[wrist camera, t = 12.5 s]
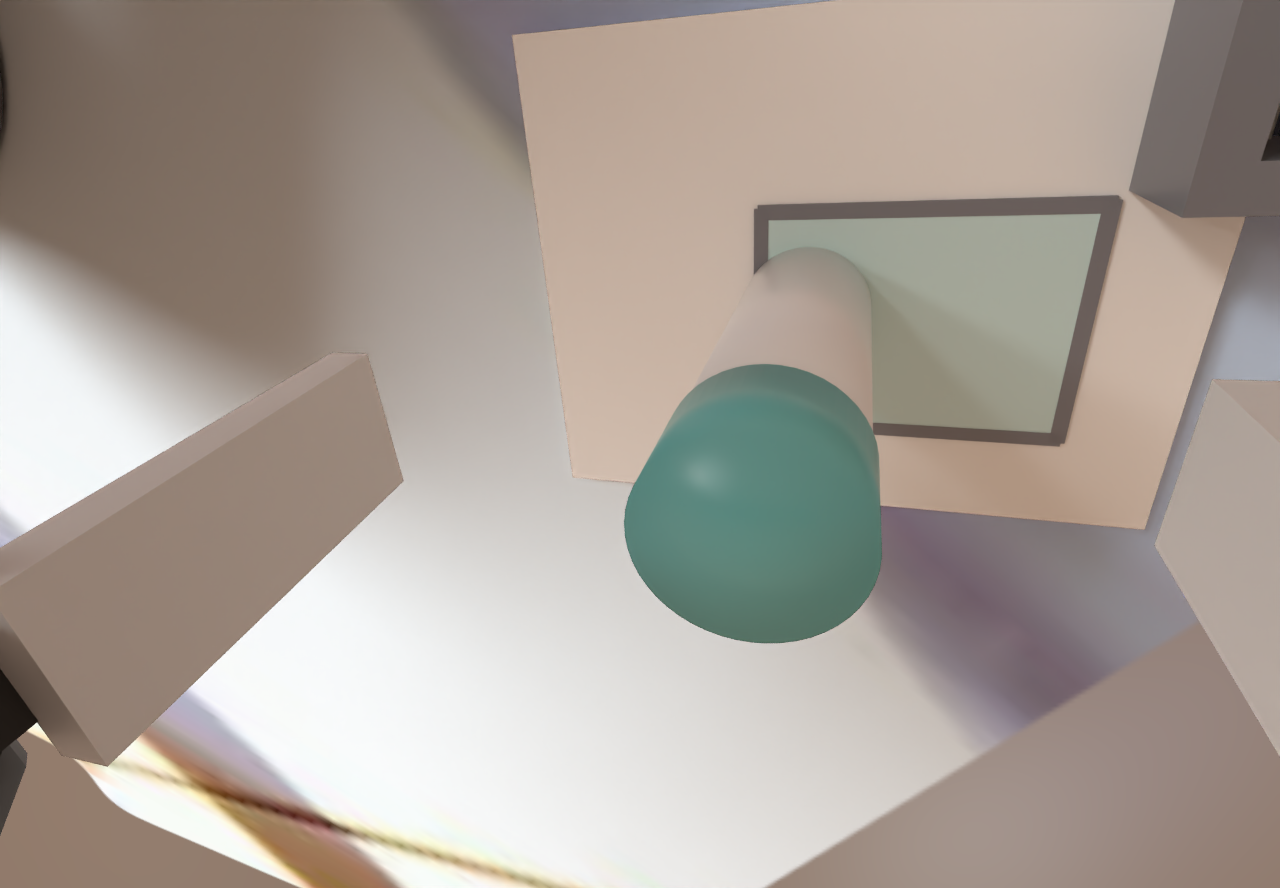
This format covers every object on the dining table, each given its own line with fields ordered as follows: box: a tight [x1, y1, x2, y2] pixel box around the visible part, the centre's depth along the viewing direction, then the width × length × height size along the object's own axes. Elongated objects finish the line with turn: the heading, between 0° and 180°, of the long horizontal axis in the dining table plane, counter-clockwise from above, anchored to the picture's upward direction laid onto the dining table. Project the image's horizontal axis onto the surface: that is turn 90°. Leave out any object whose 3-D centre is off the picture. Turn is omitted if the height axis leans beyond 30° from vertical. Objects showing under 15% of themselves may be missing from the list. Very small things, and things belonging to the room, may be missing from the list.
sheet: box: [512, 0, 1280, 530], centre depth 20 cm, size 18×14×1 cm
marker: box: [624, 247, 882, 643], centre depth 15 cm, size 4×4×12 cm
